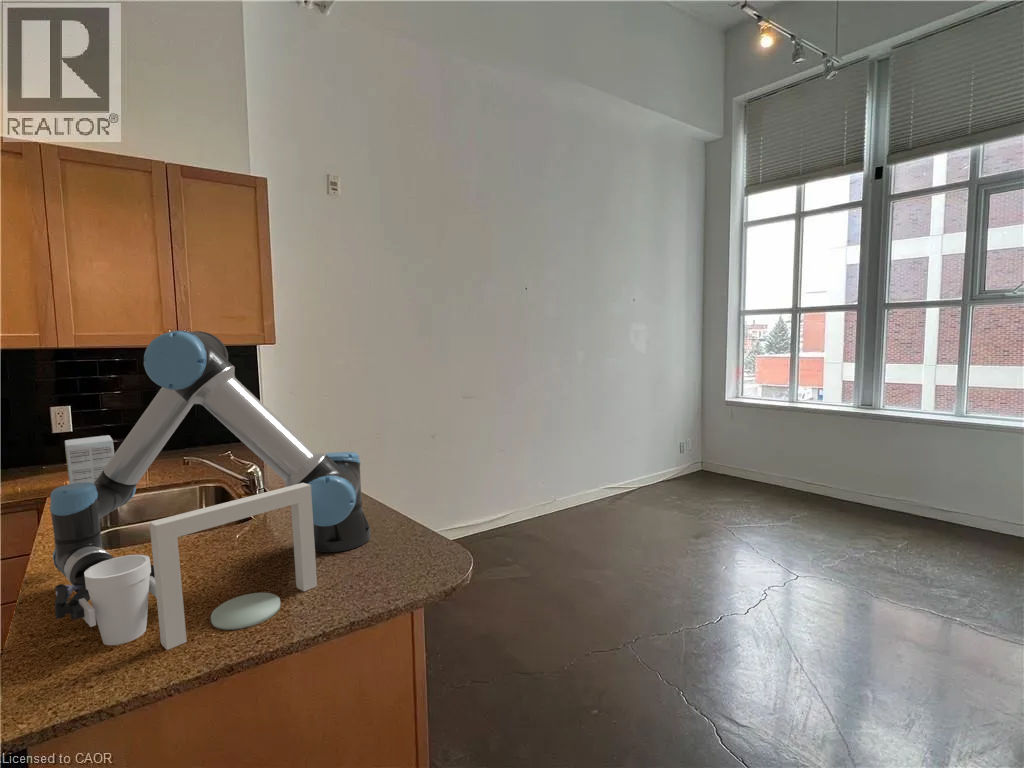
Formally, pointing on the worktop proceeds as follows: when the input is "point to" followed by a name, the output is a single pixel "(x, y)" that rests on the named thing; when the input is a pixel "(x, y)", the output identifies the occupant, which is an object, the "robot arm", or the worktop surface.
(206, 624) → the worktop surface
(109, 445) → the supplement box
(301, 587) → the keeper arch
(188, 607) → the worktop surface
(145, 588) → the foam cup
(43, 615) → the worktop surface
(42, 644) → the worktop surface
